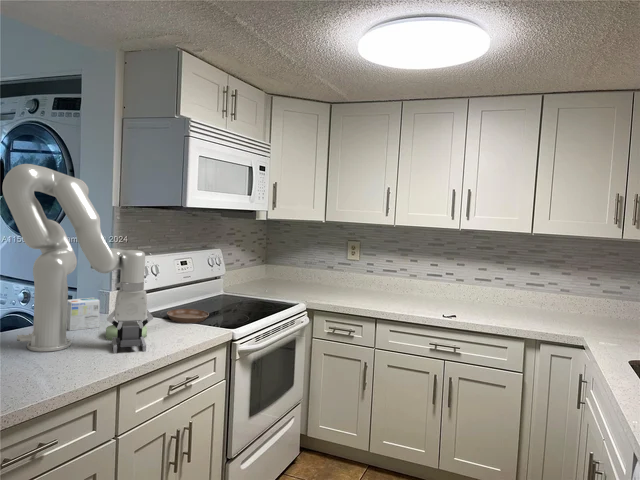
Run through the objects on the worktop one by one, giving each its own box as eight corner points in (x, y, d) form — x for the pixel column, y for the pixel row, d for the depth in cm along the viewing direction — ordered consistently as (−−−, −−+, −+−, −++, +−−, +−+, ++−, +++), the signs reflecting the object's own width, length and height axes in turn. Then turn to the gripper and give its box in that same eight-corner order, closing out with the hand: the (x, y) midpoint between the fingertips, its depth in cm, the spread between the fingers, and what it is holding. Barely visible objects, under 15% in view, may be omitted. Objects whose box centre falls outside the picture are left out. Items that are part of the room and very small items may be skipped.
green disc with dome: (106, 353, 151) (107, 332, 150) (105, 331, 175) (106, 313, 174) (152, 350, 157) (153, 330, 156) (144, 330, 181) (145, 312, 180)
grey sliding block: (120, 347, 152) (121, 329, 152) (119, 338, 161) (120, 321, 160) (140, 346, 155) (141, 328, 154) (137, 337, 164) (138, 320, 163)
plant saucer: (196, 313, 215) (197, 306, 215) (216, 322, 202) (216, 315, 202) (159, 317, 203) (160, 310, 203) (177, 326, 190) (178, 319, 190)
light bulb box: (93, 323, 184) (94, 296, 184) (99, 327, 180) (100, 300, 179) (63, 327, 177) (64, 299, 176) (69, 331, 172) (70, 302, 171)
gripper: (104, 289, 150) (102, 344, 152) (159, 288, 158) (157, 341, 159) (104, 285, 157) (101, 337, 158) (157, 284, 165) (154, 335, 166)
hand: (129, 338), depth 159 cm, fingers closed on grey sliding block, 5 cm apart
